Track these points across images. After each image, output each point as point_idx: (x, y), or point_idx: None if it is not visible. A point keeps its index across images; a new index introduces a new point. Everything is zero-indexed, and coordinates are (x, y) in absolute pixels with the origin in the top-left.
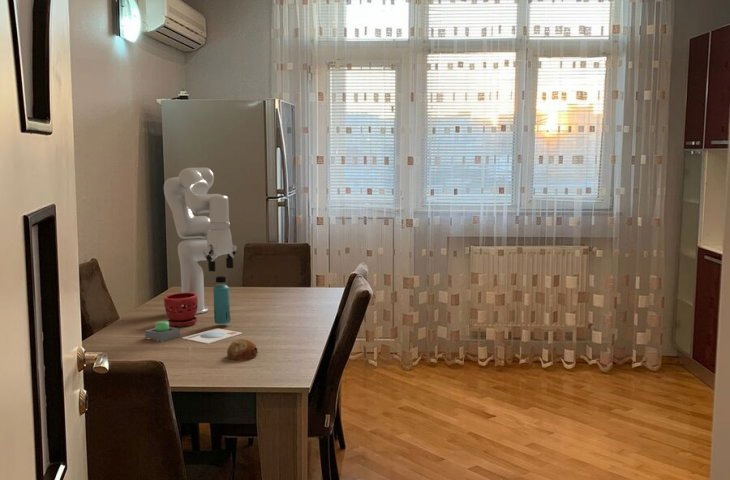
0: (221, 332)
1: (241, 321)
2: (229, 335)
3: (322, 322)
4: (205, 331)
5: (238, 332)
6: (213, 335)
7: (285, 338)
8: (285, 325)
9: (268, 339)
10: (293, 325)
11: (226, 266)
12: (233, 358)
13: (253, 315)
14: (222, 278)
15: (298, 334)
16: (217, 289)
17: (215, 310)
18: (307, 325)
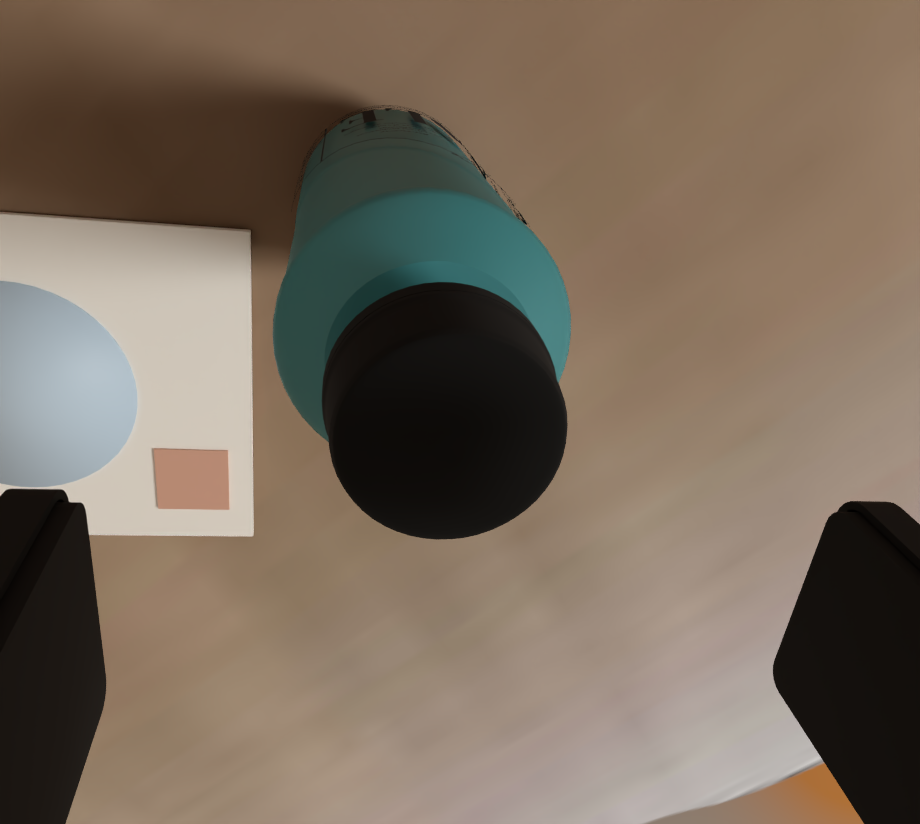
0: (150, 387)
1: (627, 231)
2: (119, 508)
3: (794, 725)
4: (73, 225)
5: (245, 500)
6: (13, 407)
7: (322, 795)
8: (633, 608)
9: (238, 745)
10: (654, 646)
11: (856, 520)
12: None
13: (899, 163)
14: (393, 524)
15: (449, 791)
16: (280, 375)
17: (297, 208)
18: (686, 706)
